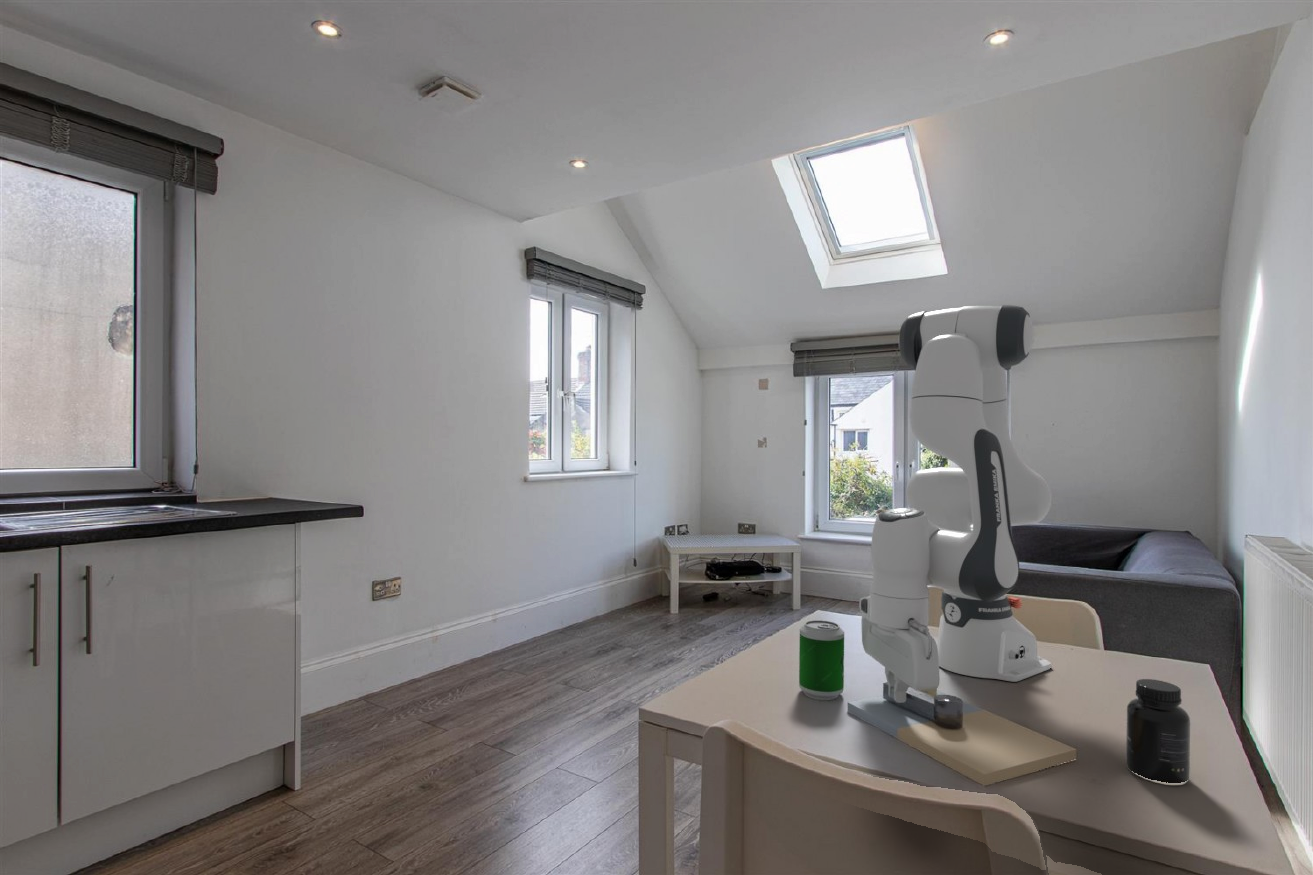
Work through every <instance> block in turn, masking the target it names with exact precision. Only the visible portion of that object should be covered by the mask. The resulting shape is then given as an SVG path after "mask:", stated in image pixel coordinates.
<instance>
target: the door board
mask: <svg viewBox="0 0 1313 875" xmlns="http://www.w3.org/2000/svg"><path fill="white" fill-rule="evenodd" d="M909 687H910V686H909ZM911 688H912V687H911ZM921 692H923V693H926V694H928V695H931V696H933V697H934V696H936V695H949V694H948V693H945V692H943V691H940V690H939V689H937V690H935V691H921ZM847 712H848V713H850V714H851V715H853V716H855V717H856V718H859V719H860V720H862V721H865V722H866V723H868V724H870V725H872V726H874V727H876V728H877V729H879V730H881V731H883V732H885V733H887V734H888V735H890V736H892V737H894V738H895V739H897V740H900V741H901V742H903V743H905V744H906V745H909V746H910V747H912V748H914V749H916V750H918V751H919V752H922V753H923V754H925V755H927V756H929V757H930V758H932V759H934V760H936V761H937V762H939V763H941V764H943V765H945V766H947V767H948V768H951V769H952V770H953V771H956V772H958V773H959V774H962V775H963V776H965V777H966V778H969V779H970V780H973V781H974V780H975V781H974V782H976V783H978V784H980V785H982V786H984V787H986V786H989V784H990V785H992V784H993V785H994V784H996V783H995V782H997V783H1000V782H1003V780H1004V781H1006V780H1007V781H1008V780H1010V779H1014V778H1018V777H1021V776H1026V775H1028V774H1033V773H1035V772H1039V770H1040V771H1043V770H1046V769H1045V768H1047V769H1049V768H1048V767H1050V766H1054V767H1056V766H1055V765H1057V764H1061V763H1064V762H1068V761H1071V760H1074V759H1076V760H1077V748H1074V747H1071V745H1068V744H1064V743H1063V742H1060V741H1058V740H1055V739H1053V738H1050V737H1049V736H1046V735H1044V734H1042V733H1040V732H1036V731H1034V730H1033V729H1029V728H1028V727H1026V726H1025V727H1024V726H1022V725H1020V724H1018V723H1015V722H1014V721H1011V720H1010V719H1009V720H1008V719H1007V718H1004V717H1002V716H1000V715H997V714H994V713H992V712H991V711H990V712H989V711H988V710H985V709H982V708H981V707H978V706H976V705H973V704H972V703H969V702H966V701H964V700H963V726H962V727H961V728H956V729H952V728H945V727H942V726H939V725H937V724H936V723H935V722H934V721H933V720H931V719H929V718H927V717H924V716H922V715H920V714H917V713H915V712H913V711H911V710H908V709H906V708H904V707H902V706H899V705H897V704H895V703H892V702H890V701H888V700H886V699H883V695H879V696H873V697H867V698H863V699H858V700H853V701H847ZM1068 763H1069V762H1068ZM1061 765H1062V764H1061ZM1057 766H1058V765H1057ZM1050 768H1051V767H1050ZM1042 769H1043V770H1042Z"/></svg>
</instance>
